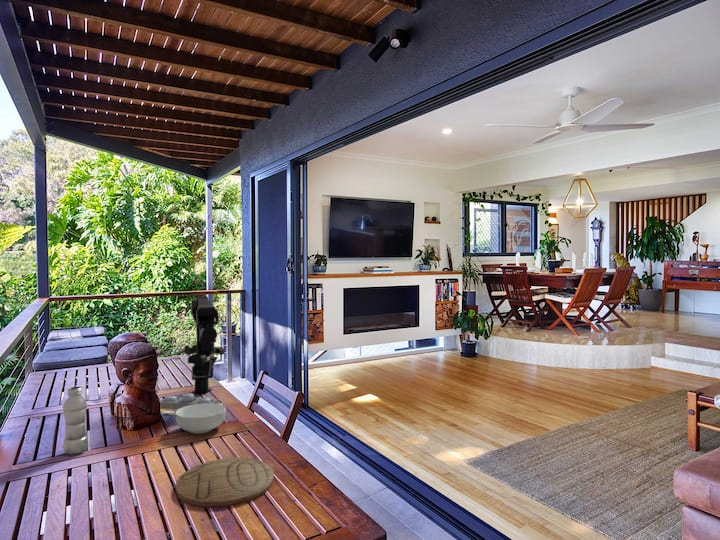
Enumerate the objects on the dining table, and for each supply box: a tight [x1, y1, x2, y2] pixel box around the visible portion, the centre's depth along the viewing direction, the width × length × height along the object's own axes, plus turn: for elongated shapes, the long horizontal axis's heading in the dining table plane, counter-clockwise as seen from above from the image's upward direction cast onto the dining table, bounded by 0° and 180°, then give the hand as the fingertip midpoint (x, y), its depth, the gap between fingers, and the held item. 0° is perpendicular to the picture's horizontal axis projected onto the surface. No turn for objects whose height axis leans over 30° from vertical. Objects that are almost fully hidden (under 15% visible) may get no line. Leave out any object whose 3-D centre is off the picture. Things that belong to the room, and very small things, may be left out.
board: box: [158, 396, 224, 416], centre depth 185 cm, size 14×24×3 cm, turn 79°
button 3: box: [199, 396, 212, 404], centre depth 185 cm, size 4×4×3 cm
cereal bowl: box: [174, 403, 227, 435], centre depth 163 cm, size 17×17×7 cm
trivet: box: [175, 457, 275, 509], centre depth 124 cm, size 25×25×2 cm
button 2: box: [181, 392, 195, 403], centre depth 186 cm, size 4×4×3 cm
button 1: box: [164, 395, 178, 402], centre depth 187 cm, size 4×4×3 cm
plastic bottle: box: [62, 386, 89, 455], centre depth 144 cm, size 6×7×20 cm
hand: (207, 376), depth 188 cm, fingers closed
